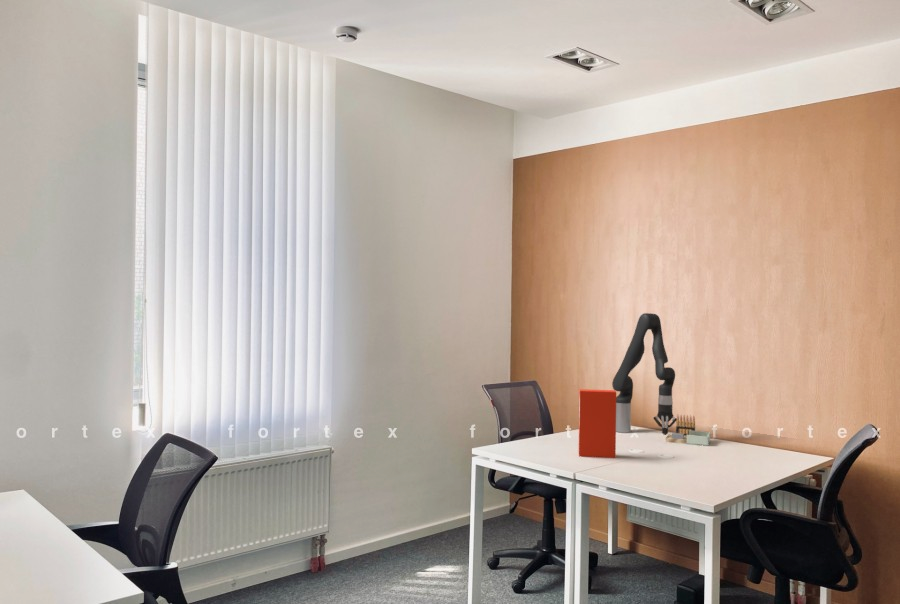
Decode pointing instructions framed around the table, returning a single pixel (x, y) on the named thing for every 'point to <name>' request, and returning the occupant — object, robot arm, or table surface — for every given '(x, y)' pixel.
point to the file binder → (597, 423)
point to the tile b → (678, 435)
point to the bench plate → (670, 439)
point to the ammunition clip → (685, 425)
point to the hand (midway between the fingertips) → (665, 434)
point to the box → (698, 438)
